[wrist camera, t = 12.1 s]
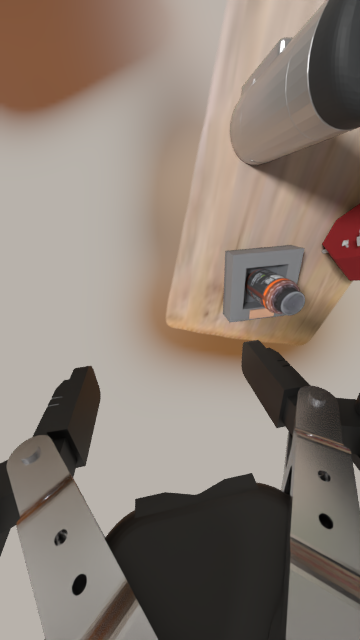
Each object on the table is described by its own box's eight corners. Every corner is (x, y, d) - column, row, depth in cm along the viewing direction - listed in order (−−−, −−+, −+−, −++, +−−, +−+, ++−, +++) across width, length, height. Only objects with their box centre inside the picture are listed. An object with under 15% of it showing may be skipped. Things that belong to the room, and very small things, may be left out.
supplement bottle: (262, 300, 45) (295, 326, 35) (238, 291, 43) (267, 315, 33) (278, 274, 43) (319, 293, 33) (253, 262, 41) (289, 280, 31)
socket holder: (225, 251, 40) (234, 255, 36) (290, 245, 41) (305, 248, 38) (223, 313, 46) (230, 323, 42) (279, 306, 47) (291, 315, 44)
